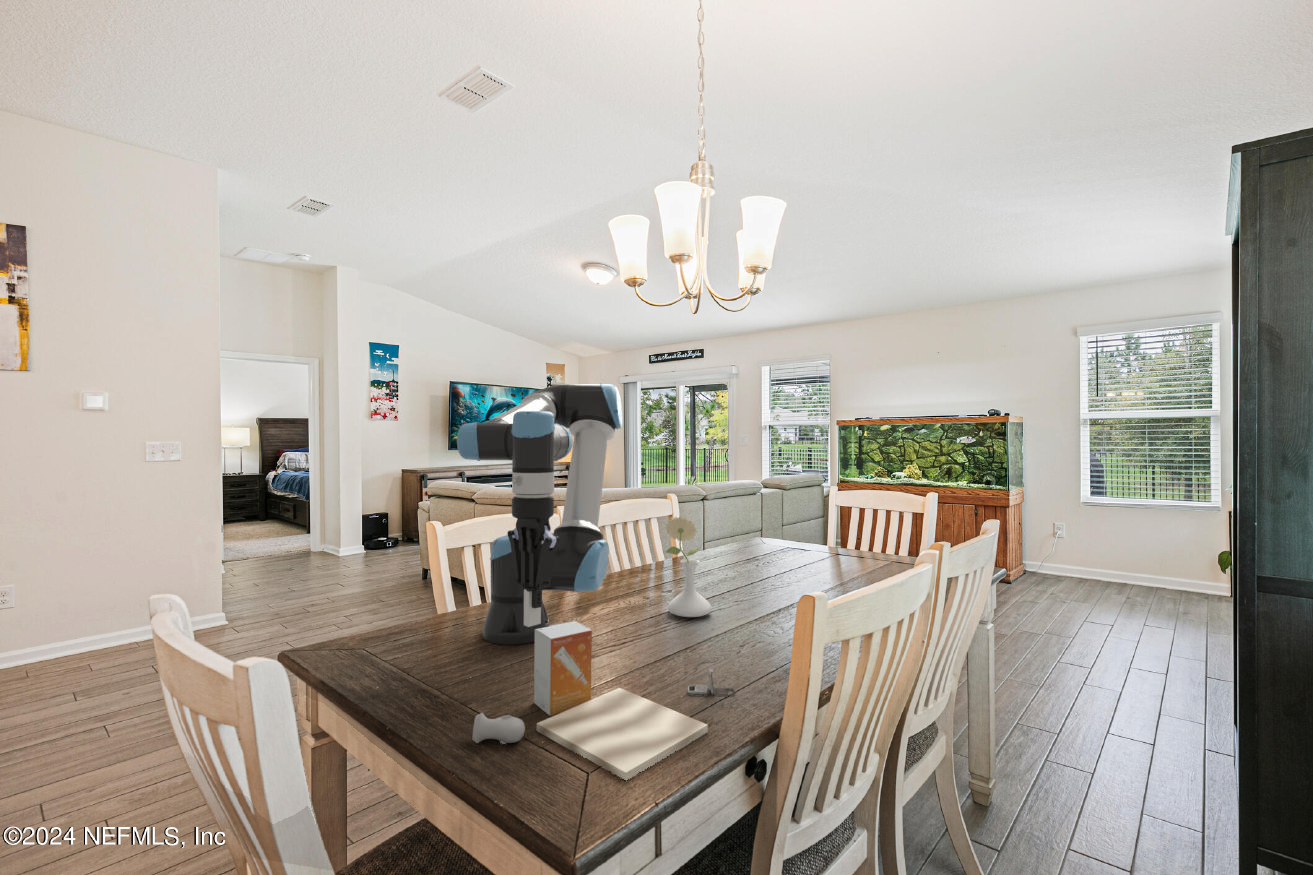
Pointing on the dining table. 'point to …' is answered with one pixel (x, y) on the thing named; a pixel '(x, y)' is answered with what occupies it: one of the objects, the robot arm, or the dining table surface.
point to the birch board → (622, 731)
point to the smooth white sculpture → (498, 729)
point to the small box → (562, 667)
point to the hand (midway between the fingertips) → (532, 624)
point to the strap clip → (704, 690)
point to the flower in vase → (686, 572)
